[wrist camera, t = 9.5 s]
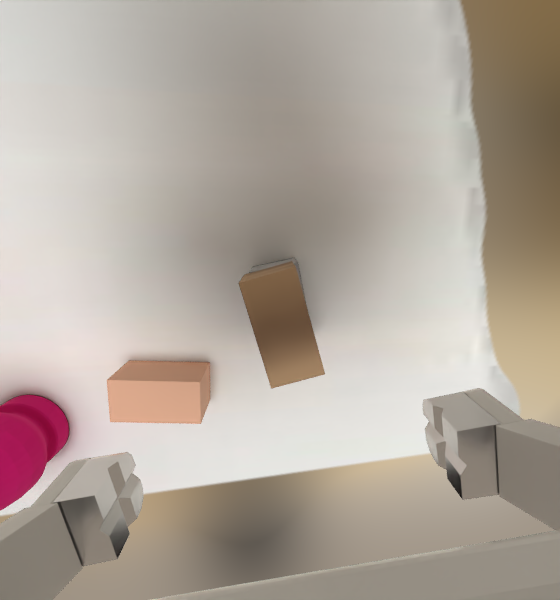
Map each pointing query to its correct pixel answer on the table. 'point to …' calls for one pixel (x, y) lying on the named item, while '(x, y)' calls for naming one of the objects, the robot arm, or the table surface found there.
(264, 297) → the walnut brick
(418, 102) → the table surface
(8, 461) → the pepper mill
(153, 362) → the terracotta brick
